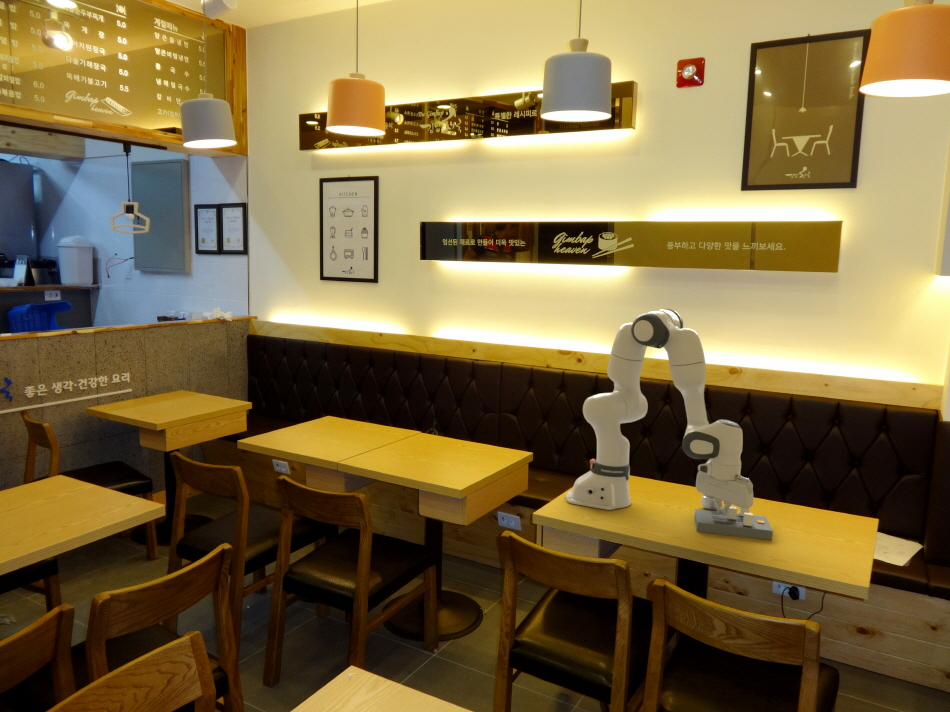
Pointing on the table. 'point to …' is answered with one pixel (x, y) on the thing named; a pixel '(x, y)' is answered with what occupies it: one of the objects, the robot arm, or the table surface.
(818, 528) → the table surface
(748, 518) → the block
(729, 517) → the block
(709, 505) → the plastic bottle
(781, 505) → the table surface
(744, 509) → the block
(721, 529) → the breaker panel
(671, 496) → the table surface
